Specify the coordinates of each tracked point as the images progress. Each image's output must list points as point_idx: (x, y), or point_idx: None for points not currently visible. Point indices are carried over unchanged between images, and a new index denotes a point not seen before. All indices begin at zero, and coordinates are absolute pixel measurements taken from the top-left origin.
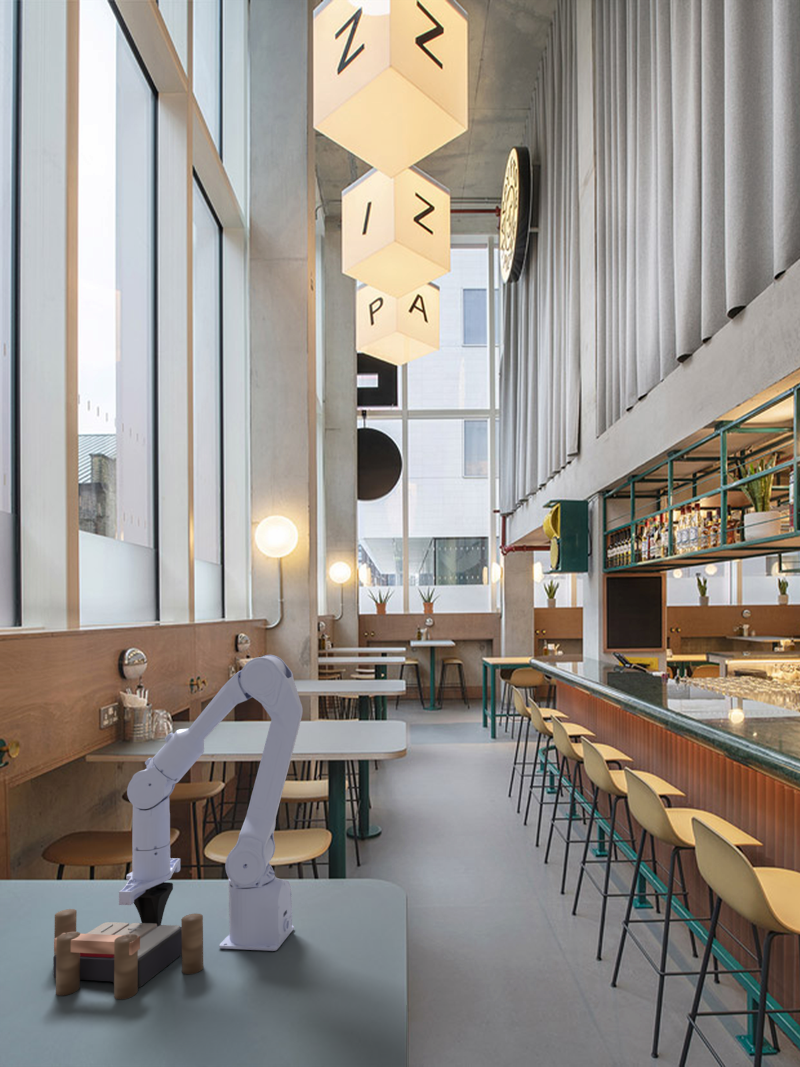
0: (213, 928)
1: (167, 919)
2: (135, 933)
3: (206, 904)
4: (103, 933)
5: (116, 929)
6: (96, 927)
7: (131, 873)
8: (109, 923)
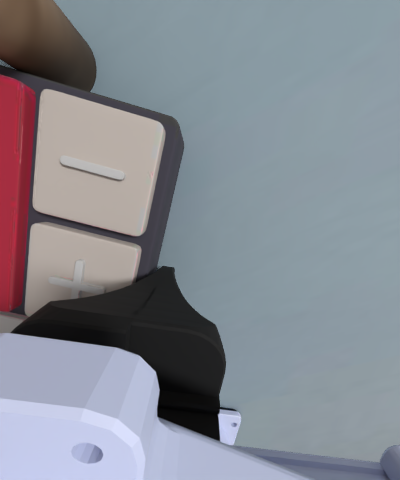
0: (242, 367)
1: (315, 255)
2: (49, 297)
3: (386, 319)
4: (52, 175)
5: (86, 212)
6: (112, 109)
7: (8, 447)
8: (145, 153)
